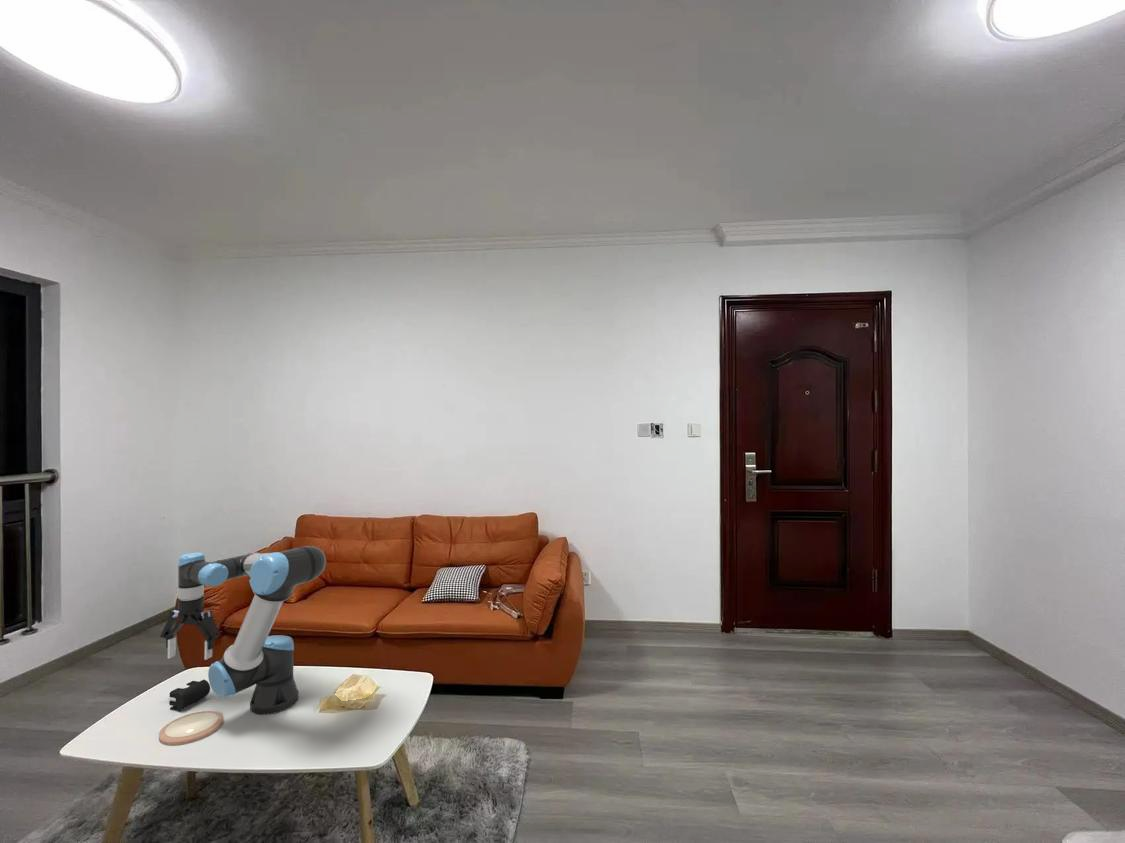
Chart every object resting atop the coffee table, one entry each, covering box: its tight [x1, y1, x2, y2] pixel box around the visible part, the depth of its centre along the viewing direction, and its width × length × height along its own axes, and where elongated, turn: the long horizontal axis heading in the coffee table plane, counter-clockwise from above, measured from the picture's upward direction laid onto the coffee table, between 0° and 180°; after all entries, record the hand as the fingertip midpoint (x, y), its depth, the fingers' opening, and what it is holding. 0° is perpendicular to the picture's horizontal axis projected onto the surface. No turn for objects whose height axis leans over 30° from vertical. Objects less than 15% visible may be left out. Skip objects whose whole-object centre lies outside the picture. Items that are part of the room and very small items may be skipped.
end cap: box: [168, 679, 211, 712], centre depth 183 cm, size 10×7×7 cm
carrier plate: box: [158, 710, 224, 746], centre depth 167 cm, size 17×17×2 cm
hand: (189, 657), depth 183 cm, fingers open, 13 cm apart
